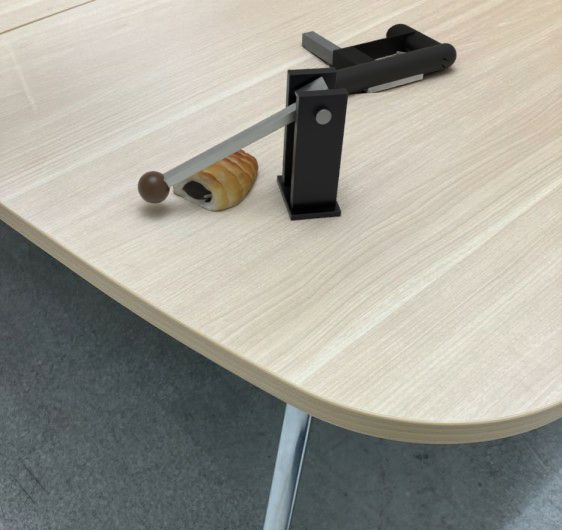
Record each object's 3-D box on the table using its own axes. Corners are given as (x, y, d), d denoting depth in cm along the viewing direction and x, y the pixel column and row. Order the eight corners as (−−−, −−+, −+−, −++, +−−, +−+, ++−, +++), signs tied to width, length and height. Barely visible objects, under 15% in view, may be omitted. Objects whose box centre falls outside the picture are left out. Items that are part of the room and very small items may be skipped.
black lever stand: (290, 226, 76) (298, 102, 67) (276, 185, 81) (281, 64, 71) (340, 221, 77) (355, 99, 68) (323, 181, 82) (334, 61, 72)
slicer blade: (150, 215, 74) (132, 192, 72) (147, 196, 76) (130, 174, 74) (339, 114, 71) (327, 87, 68) (331, 98, 73) (319, 71, 70)
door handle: (263, 35, 99) (335, 83, 89) (390, 7, 107) (469, 48, 97) (263, 62, 101) (333, 111, 91) (387, 32, 109) (464, 75, 99)
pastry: (220, 157, 84) (220, 124, 81) (274, 177, 82) (276, 145, 79) (168, 199, 78) (166, 166, 75) (225, 222, 76) (225, 189, 73)
